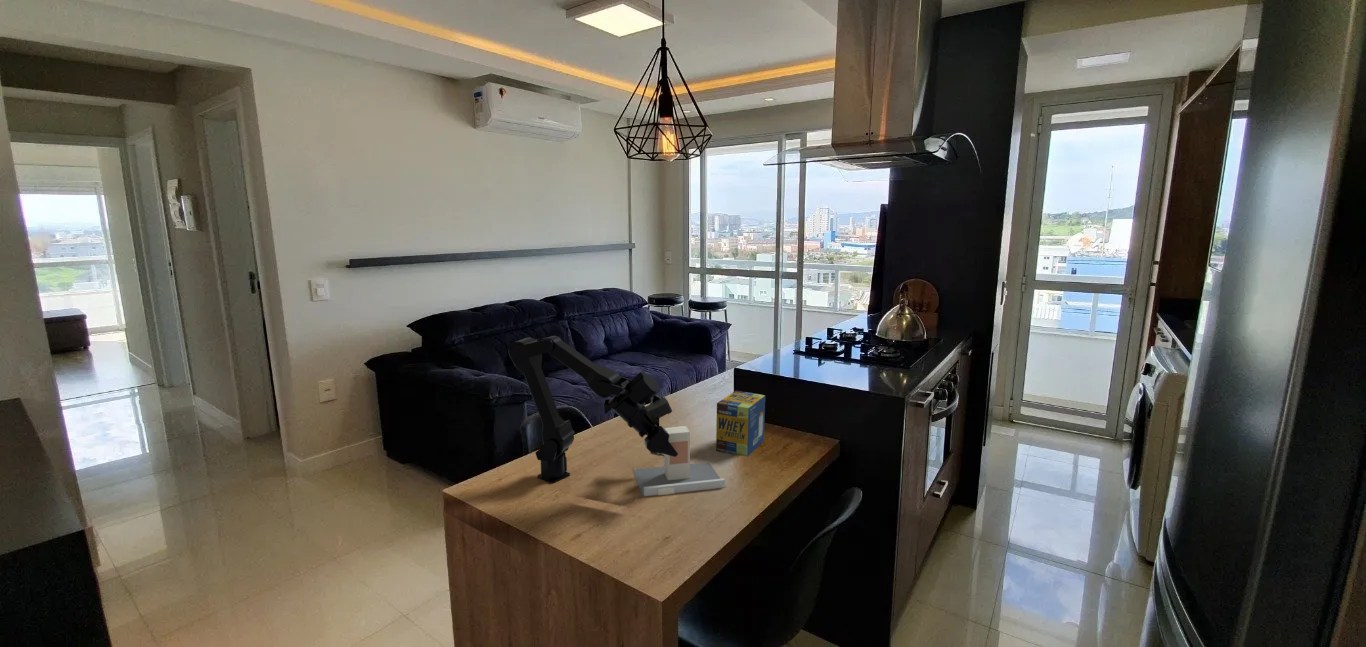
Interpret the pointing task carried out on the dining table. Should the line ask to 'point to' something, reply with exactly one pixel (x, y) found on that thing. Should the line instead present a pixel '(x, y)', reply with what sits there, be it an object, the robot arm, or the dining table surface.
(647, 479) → the shelf board
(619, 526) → the dining table surface
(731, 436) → the protein box
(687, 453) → the tea box
